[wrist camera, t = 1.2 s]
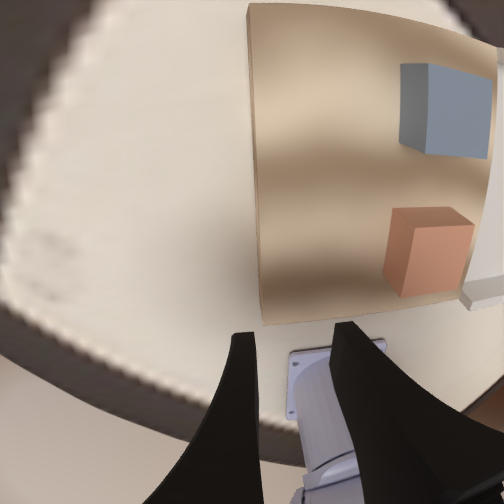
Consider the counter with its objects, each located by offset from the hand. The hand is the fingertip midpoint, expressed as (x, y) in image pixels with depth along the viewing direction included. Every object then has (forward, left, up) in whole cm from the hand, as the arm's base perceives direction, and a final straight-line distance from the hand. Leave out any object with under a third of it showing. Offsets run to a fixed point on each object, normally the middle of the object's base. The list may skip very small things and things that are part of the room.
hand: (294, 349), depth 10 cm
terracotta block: (0, -8, -7) cm, 11 cm away
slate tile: (+8, -8, -7) cm, 13 cm away
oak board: (+4, -6, -9) cm, 12 cm away
